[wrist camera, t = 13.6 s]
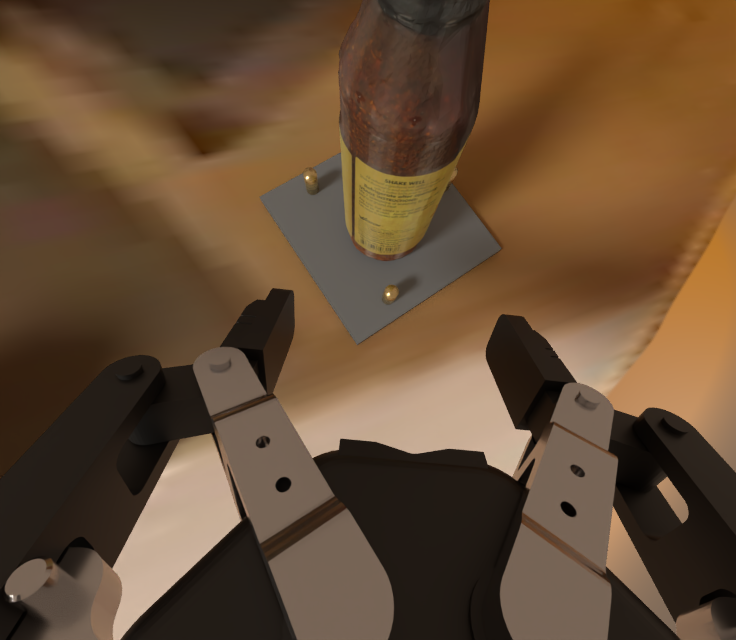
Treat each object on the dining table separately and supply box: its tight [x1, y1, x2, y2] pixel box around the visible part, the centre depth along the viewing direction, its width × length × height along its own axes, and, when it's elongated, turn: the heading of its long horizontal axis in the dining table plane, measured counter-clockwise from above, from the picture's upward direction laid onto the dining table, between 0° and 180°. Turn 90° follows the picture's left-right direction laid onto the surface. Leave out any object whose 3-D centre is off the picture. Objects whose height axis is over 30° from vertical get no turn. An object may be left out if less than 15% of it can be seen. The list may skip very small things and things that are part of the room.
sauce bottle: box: [338, 0, 490, 261], centre depth 15 cm, size 6×6×20 cm
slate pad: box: [260, 153, 502, 345], centre depth 25 cm, size 14×14×1 cm
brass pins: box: [303, 167, 458, 305], centre depth 24 cm, size 12×10×2 cm
